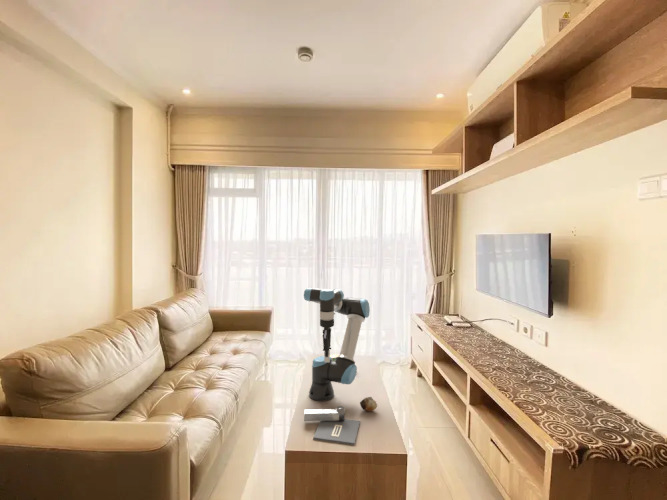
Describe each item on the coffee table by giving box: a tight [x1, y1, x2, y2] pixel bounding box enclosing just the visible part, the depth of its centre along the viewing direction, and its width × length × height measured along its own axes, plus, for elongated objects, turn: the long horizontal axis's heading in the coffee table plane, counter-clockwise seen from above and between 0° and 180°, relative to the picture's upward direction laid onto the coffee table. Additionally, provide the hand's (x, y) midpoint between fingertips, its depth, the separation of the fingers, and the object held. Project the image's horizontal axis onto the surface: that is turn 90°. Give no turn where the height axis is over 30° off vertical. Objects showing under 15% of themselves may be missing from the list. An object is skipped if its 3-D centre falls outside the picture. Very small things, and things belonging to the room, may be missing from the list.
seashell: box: [359, 396, 378, 412], centre depth 191 cm, size 10×6×8 cm, turn 87°
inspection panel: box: [312, 418, 361, 446], centre depth 171 cm, size 20×20×1 cm
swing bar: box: [303, 405, 346, 422], centre depth 178 cm, size 21×4×6 cm, turn 94°
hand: (327, 361), depth 183 cm, fingers closed
